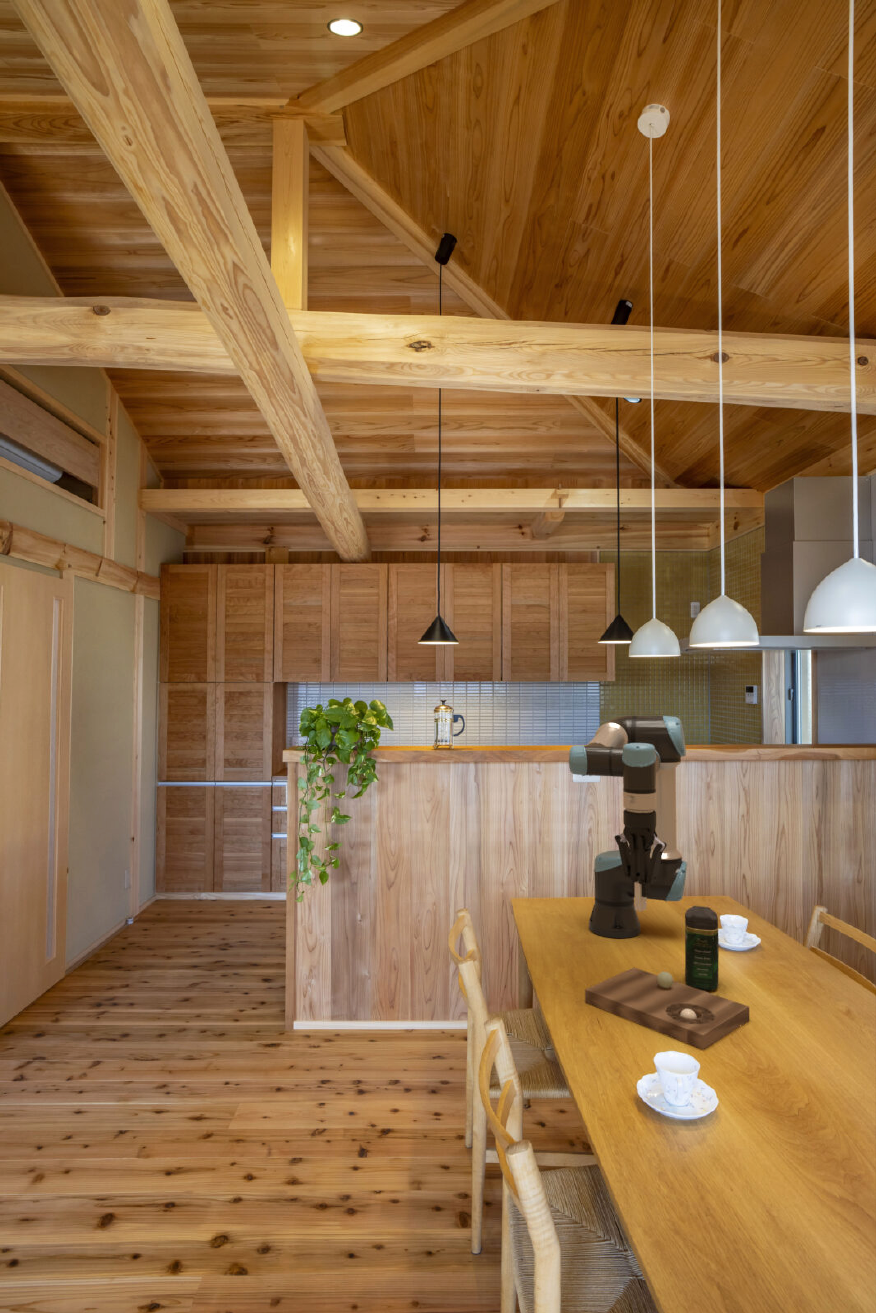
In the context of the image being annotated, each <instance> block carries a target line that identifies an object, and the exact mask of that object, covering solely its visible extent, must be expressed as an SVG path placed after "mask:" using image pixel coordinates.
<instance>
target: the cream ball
mask: <svg viewBox="0 0 876 1313" xmlns="http://www.w3.org/2000/svg"><path fill="white" fill-rule="evenodd" d="M680 1015H681V1016H683V1017H685V1018H690V1019H697V1016H696V1014H695V1012H694V1011H693V1010H691V1009H684V1010H682V1011H681V1013H680Z"/></svg>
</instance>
